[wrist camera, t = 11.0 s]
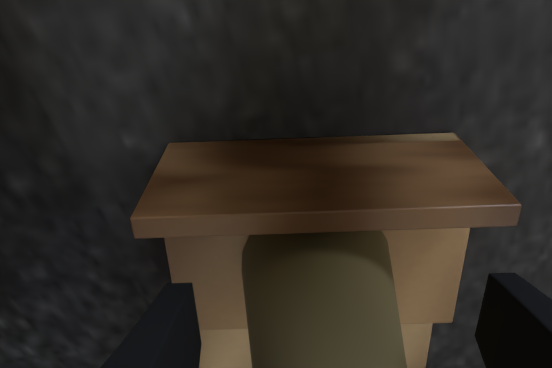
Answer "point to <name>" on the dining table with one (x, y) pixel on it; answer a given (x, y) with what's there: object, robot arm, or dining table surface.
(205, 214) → the wooden stepped pedestal
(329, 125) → the dining table surface
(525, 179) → the dining table surface
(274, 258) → the olive peg figure
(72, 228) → the dining table surface
